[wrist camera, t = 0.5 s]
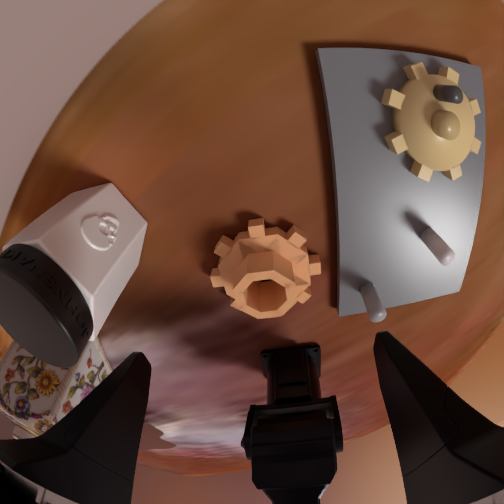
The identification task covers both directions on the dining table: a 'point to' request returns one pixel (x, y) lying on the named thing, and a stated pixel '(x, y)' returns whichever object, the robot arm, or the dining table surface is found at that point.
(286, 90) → the dining table surface
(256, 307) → the loose gear
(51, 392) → the decorative jar
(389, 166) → the gear board
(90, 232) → the jar
